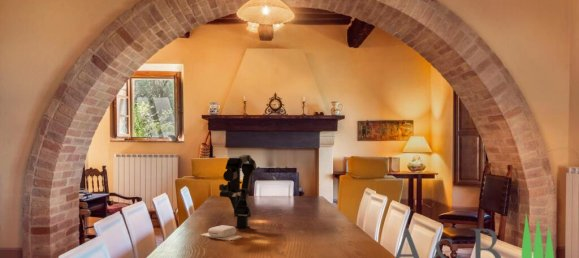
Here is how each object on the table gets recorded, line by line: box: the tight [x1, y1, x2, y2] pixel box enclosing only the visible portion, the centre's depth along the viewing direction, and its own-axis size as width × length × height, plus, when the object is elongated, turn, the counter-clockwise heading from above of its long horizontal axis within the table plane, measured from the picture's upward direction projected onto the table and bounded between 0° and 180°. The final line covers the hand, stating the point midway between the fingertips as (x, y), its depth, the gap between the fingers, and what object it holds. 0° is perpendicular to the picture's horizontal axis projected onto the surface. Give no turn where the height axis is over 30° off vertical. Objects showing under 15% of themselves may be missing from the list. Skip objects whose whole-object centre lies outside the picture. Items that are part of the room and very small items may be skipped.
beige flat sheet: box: [200, 232, 243, 242], centre depth 231 cm, size 9×20×1 cm, turn 58°
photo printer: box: [207, 224, 237, 238], centre depth 230 cm, size 10×4×12 cm
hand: (234, 208), depth 241 cm, fingers closed
